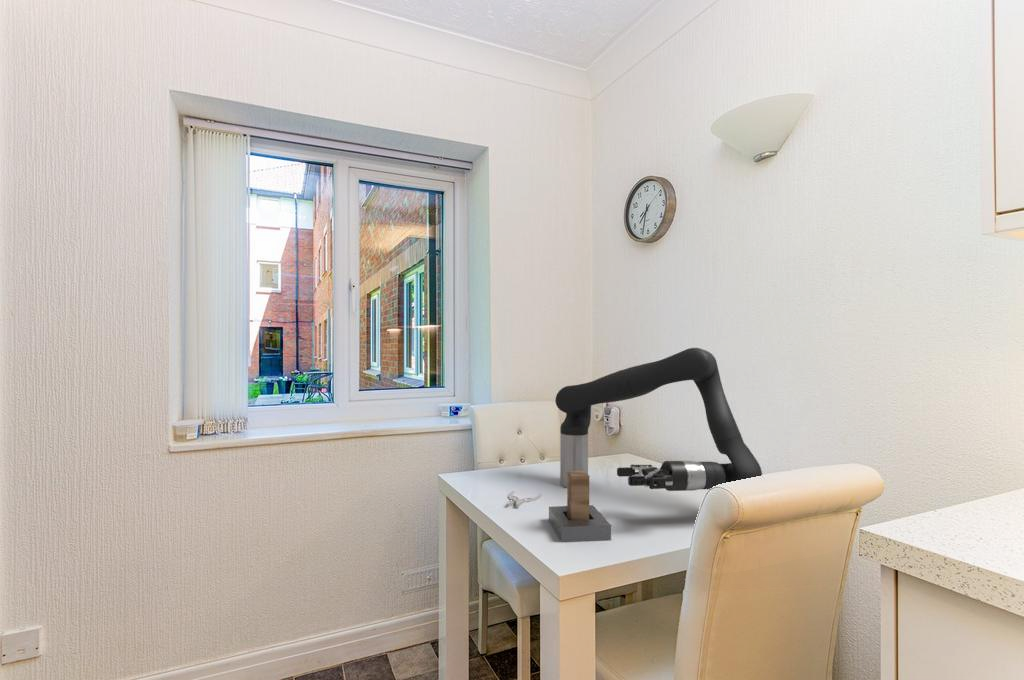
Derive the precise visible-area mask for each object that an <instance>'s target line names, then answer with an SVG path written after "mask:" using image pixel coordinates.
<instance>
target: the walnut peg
mask: <svg viewBox="0 0 1024 680" xmlns="http://www.w3.org/2000/svg"><path fill="white" fill-rule="evenodd" d="M566 489H567V490H566V491H567V493H566V494H567V499H566V503H567V505H566V506H567V519H568V520H589V505H590V475H589V473H588V474H587V473H586V472H585V471H567V487H566Z"/></svg>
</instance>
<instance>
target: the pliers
mask: <svg viewBox="0 0 1024 680" xmlns="http://www.w3.org/2000/svg"><path fill="white" fill-rule="evenodd" d="M513 493H514V494H515V491H514V490H512V491H510V493H509V494H508V496H507V497H509V498H508V500H509V499H510V500H509V501H508V502H506V507H509V508H511V507H513V506H515V509H516V510H518V509H519V508H520V505H523V504H526V503H531V501H532V502H535V501H537V500H539V499H540V498H541V497H542V493H540V494H538V495H536V496H534V497H525V498H522V499H521V498H519V497H518V496H515V495H514V494H513ZM514 497H515V498H514ZM525 499H527V500H525ZM511 500H512V501H511ZM525 502H526V503H525ZM512 505H513V506H512ZM510 506H511V507H510Z"/></svg>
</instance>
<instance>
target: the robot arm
mask: <svg viewBox="0 0 1024 680" xmlns="http://www.w3.org/2000/svg"><path fill="white" fill-rule="evenodd" d="M718 367H719V366H718V362H717V360H716V357H715V356H714V354H713V353H711V351H708V350H705V349H703V348H700V347H690V348H687V349H684V350H681V351H680V352H677V353H675V354H672V355H670V356H668V357H664V358H663V359H659V360H657V361H652V362H646V363H642V364H639V365H635V366H630V367H627V368H624V369H621V370H617V371H615V372H612V373H609V374H607V375H605V376H601V377H599V378H597V379H595V380H594V379H593V380H592V381H589V382H585V383H581V384H575V385H574V384H573V385H567V386H564V387H562V388H561V389H559V390H558V392H557V394H556V396H555V405H556V407H557V408H558V410H559V411H561V412H563V413H565V414H566V415H565V419H564V421H562V423H561V424H560V435H559V436H560V438H559V442H560V443H559V444H560V447H559V448H560V449H559V450H560V455H559V457H560V461H559V465H560V466H559V467H560V468H559V469H560V473H559V477H560V478H559V481H560V482H559V483H560V486H561V487H563V488H567V471H585V472H586V473H587V474H588V475H589V428H590V426H591V417H592V406H594V405H599V404H606V403H615V402H620V401H627V400H630V399H635V398H638V397H643V396H644V395H647V394H650V393H652V392H653V391H655V390H657V389H659V388H661V387H664V386H666V385H670V384H673V383H678V382H680V383H681V382H686V381H693V382H694V384H695V385H696V387H697V389H698V391H699V393H700V397H701V398H702V402H703V405H704V409H705V417H706V421H707V425H708V428H709V431H710V434H711V437H712V438H713V442H714V444H715V446H716V449H717V451H718V452H719V454H721V455H725V456H727V458H728V460H729V461H730V462H729V463H719V462H717V461H695V460H694V461H693V460H665V461H663V462H662V463H661V465H660V467H659V468H658V467H657V466H653V465H652V464H630V467H628V466H627V467H625V466H624V467H617V468H616V475H617V476H618V477H627V484H628V486H631V487H634V486H635V487H637V486H639V487H641V486H642V487H643V486H644V487H645V488H649V490H659V489H660V490H661V489H665V490H666V491H668V492H682V491H683V492H684V491H685V492H686V491H688V492H689V491H698V490H699V491H700V490H711V489H710V488H712V487H713V486H716V485H718V484H722V483H726V482H731V481H736V480H741V479H746V478H751V477H756V476H761V475H762V476H763V471H762V467H761V465H760V463H759V461H758V460H757V458H756V457H755V456H754V454H753V452H752V451H751V450H750V448H749V447H748V446H747V445H746V444H745V442H744V440H743V437H742V434H741V431H740V429H739V427H738V424H737V422H736V420H735V417H734V415H733V412H732V410H731V408H730V405H729V402H728V400H727V398H726V397H727V396H726V394H725V392H724V388H723V384H722V381H721V376H720V371H719V368H718Z"/></svg>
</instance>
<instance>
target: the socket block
mask: <svg viewBox="0 0 1024 680" xmlns="http://www.w3.org/2000/svg"><path fill="white" fill-rule="evenodd" d="M548 521H549V523H550V525H551V527H552V528H553V530H554V532H555V534H556V535H557V537H558V540H560V542H561V543H572V542H573V543H576V542H596V541H597V542H599V541H612V524H610V522H609V521H608V520H607V519H606V518H605V517H604V515H602V513H601V512H600V511H599V510H598V509H597V508H596V507H595V506H594V504H591V505H590V504H589V520H568V519H567V505H561V506H558V505H555V506H548Z"/></svg>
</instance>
